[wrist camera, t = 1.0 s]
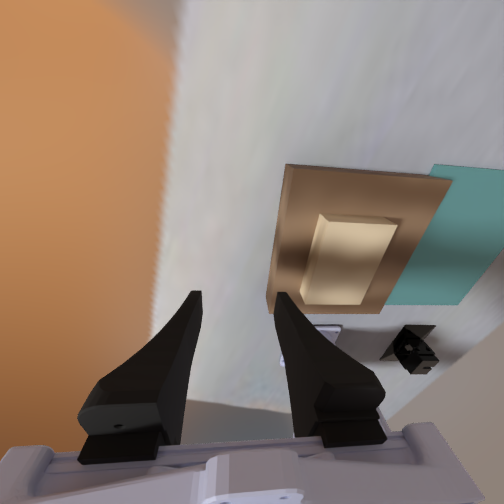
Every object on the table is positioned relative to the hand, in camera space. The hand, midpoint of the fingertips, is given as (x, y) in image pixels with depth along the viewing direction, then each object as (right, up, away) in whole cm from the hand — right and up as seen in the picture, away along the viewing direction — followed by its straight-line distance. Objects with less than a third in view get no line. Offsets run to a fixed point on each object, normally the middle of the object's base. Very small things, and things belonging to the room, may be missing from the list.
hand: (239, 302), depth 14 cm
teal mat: (+25, +4, +11) cm, 27 cm away
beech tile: (+10, +3, +7) cm, 12 cm away
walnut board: (+10, +4, +9) cm, 14 cm away
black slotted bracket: (+27, -12, +21) cm, 36 cm away
